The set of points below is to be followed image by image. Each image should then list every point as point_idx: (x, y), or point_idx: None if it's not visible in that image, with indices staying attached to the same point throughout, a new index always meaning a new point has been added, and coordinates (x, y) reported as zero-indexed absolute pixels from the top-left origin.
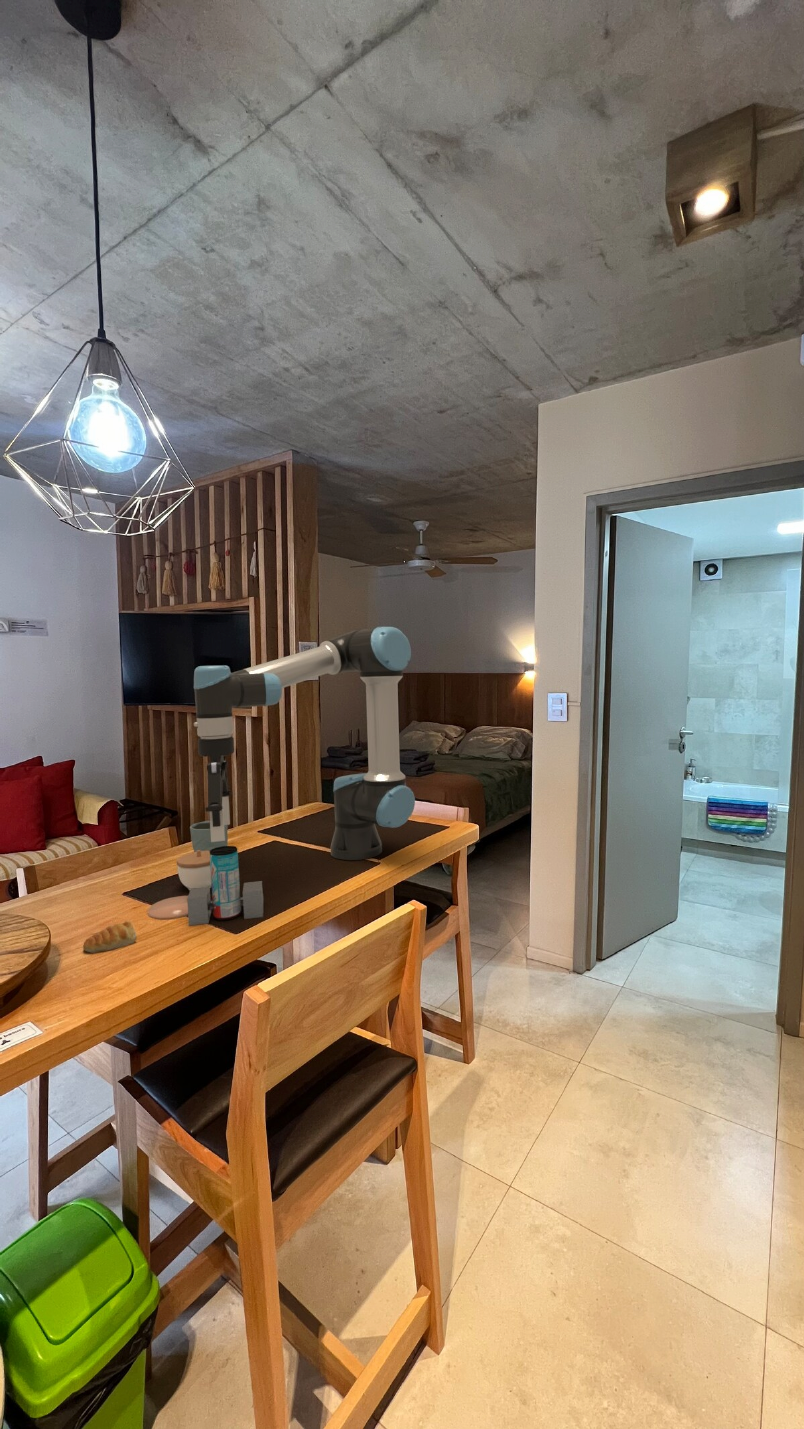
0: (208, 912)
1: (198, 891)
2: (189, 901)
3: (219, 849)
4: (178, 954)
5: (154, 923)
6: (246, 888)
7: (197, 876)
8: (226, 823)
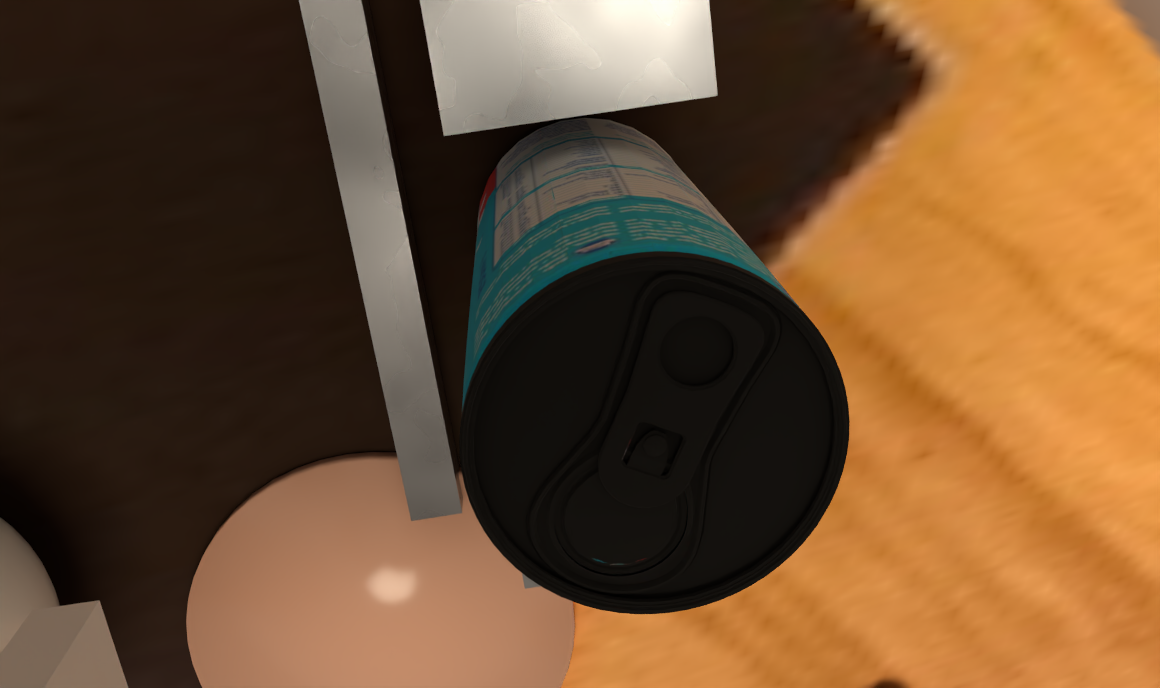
0: None
1: None
2: None
3: (584, 511)
4: (1128, 391)
5: (625, 673)
6: (611, 77)
7: None
8: (107, 671)
